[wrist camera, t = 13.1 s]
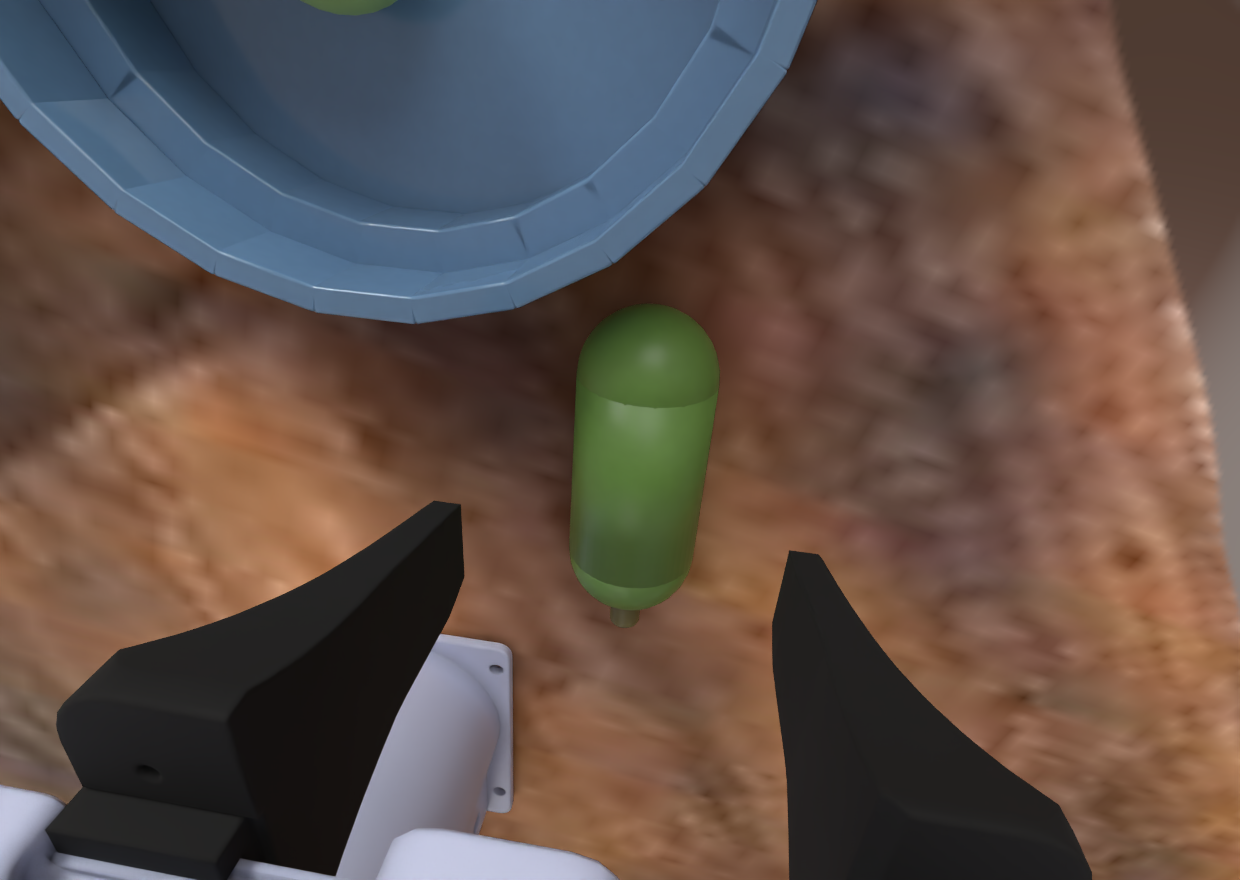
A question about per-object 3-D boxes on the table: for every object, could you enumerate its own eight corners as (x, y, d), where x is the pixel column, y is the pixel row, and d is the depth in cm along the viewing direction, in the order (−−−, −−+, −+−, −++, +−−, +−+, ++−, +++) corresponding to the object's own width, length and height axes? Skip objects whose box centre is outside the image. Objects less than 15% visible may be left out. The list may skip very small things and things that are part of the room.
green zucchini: (685, 588, 23) (678, 672, 20) (578, 573, 23) (554, 652, 20) (729, 293, 18) (730, 342, 15) (593, 278, 18) (565, 323, 15)
